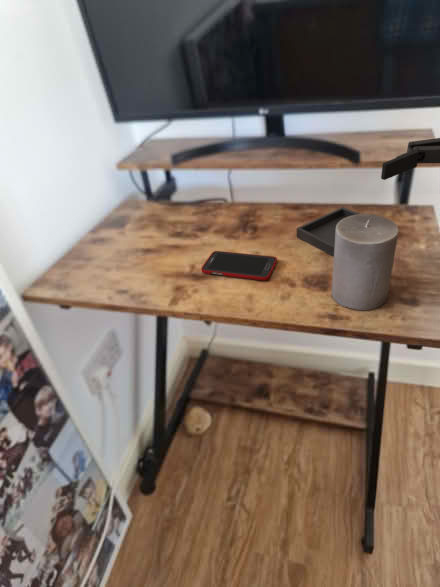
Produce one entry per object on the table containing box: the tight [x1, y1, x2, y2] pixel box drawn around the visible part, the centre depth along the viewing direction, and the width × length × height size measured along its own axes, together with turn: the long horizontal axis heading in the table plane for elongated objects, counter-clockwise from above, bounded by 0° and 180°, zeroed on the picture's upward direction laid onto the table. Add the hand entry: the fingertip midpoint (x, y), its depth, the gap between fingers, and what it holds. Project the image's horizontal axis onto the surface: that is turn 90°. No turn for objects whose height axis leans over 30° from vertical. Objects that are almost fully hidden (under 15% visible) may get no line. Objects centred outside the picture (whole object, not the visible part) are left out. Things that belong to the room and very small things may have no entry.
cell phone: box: [200, 250, 278, 281], centre depth 84 cm, size 8×15×1 cm, turn 69°
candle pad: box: [296, 206, 360, 258], centre depth 88 cm, size 14×14×2 cm
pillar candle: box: [331, 213, 400, 312], centre depth 68 cm, size 10×10×15 cm
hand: (413, 189), depth 60 cm, fingers open, 13 cm apart
